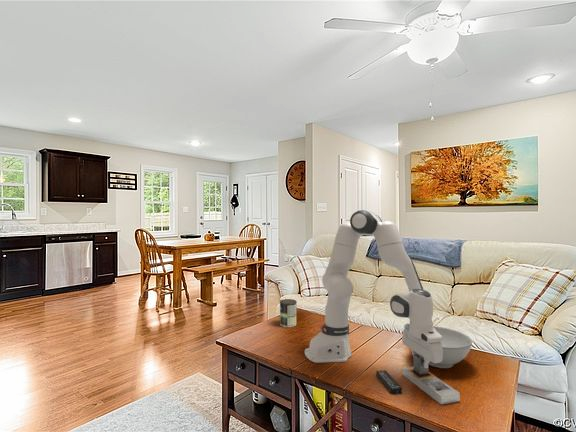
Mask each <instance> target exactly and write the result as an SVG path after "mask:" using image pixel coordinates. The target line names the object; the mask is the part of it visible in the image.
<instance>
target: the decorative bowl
mask: <svg viewBox="0 0 576 432" xmlns="http://www.w3.org/2000/svg"><path fill="white" fill-rule="evenodd" d="M433 327H434V328H435V330H436V331H437V332H438V333H439V334H440V335H441V336H442V338H443V340H442V341H441V344H442V348H443V359H442V361H441V362H440V363H432V362H431V361H430V362H429V363H428V366H429V365H430V366H432V367H434V368H438V369H449V368H452V367H454V365H456V364H458V363H460V362H461V361H463V360H464V359H465V358H466V356H467V355H468V354H469V352H470V350H471V349H472V345H473V340H472V338H471V337H470V336H468V335H467V334H465V333H464V332H461V331H458V330H455V329H452V328H448V327H443V326H439V325H438V326H437V325H433ZM417 354H418V353H417Z"/></svg>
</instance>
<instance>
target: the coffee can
mask: <svg viewBox="0 0 576 432" xmlns="http://www.w3.org/2000/svg"><path fill="white" fill-rule="evenodd" d="M297 302H298V301H297V300H295V299H292V298H289V299H288V298H287V299H286V298H285V299H281V300H280V301H279V325H280V327H284V328H291V327H295V326H297Z"/></svg>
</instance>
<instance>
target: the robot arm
mask: <svg viewBox="0 0 576 432" xmlns="http://www.w3.org/2000/svg"><path fill="white" fill-rule="evenodd" d="M369 236H370V237H374V239H375V242H376V247H377V252H378V255H379V258H380V260H381V261H382V262H383V263H384V264H386V265H387V266H389V267H392V268H395V269H396V270H398V271H400V272H401V274H402V276H403V278H404V281H405V283H406V285H407V289H408V292H403V293H402V292H401V293H397V294H395V295H393V296H391V298H390V303H389V306H390V310H391V312H392V313H393V315H394V316H396V317H399V318H407V319H409V323H408V322H407V323H406V324H404V326H403V327H404V329H403V330H402V338H401V339H402V344H403V345H404V346H405V347H407V348H409V349H410V350H411V353H412V354H411V355H412V356H413V360H412V361H414V354H417V353H418V354H420V355H421V356H423V357H424V360H425V361H424V362H422V366H423V367H424V368H428V369H429V364H428V363H429V362H430V361H431V362H432V363H440V362H441V361H442V359H443V348H442V344H441V341H442V340H443V338H442V336H441V335H440V334H439V333H438V332H437V331H436V330H435V328H434V327H433V326H434V324H433V323H434V322H433V316H434V301H433V296H432V294H431V293H430V292H429V291H428V290H426V289H424V287H423V285H422V282H421V280H420V277H419V275H418V271H417V269H416V266H415V263H414V261H413V259H411V257H410V256H409V255H408V254H407V253H408V252H407V251H406V249H405V246H404V243H403V239H402V235H401V232H400V231H399V228H398V226H397V224H396V223H395V222H393V221H389V220H386V221H385V220H384V221H383V220H382V218H381V217H380V216H379V215H378V214H375V213H374V212H372V211H368V210H364V209H362V210H356V211H355V212H354V213H352V215H351V216H350V219H349V222H348V221H347V222H343V223H341V224H339V227H338V228H337V232H336V234H335V237H334V241H333V246H332V251H331V255H330V259H329V262H328V264H327V266H326V270H324V271H325V273H324V274H323V275H322V279H321V282H322V286H323V288H324V289H325V290H326V291H327V301H326V305H325V308H324V311H325V312H324V315H325V316H324V324H322V323H318V325H317V327H318V328H319V329H321V331H320V332H319V333H317V335H315V336H314V337H313V338H312V339H310V342H309V346H308V348H305V349H304V355H305V357H306V358H307V359H308V360H309V361H311V362H313V363H315V364H317V363H340V362H341V363H343V362H345V363H346V362H347V361H348V360H349V358H350V357H352V350H351V346H350V339H349V336H350V325H349V308H350V302H351V297H352V295H353V293H354V285H353V283H352V281H351V279H350V278H349V277H348V273H349V271H350V270H351V267H352V266H353V265H354V263H355V262H354V261H355V257H356V252H357V249H358V248H357V247H358V243H359V240H360V238H361V237H369Z"/></svg>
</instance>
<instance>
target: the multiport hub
mask: <svg viewBox="0 0 576 432" xmlns="http://www.w3.org/2000/svg"><path fill="white" fill-rule="evenodd" d="M375 376H376V378H378V380H379V382H380V383H381V384H382V385H383V386H384V387H385V388H386V390H387V391H388V392H389V394H391V395H399V394H403V388H402V386H400V384H399V383H398V382H397V381H396V380H395V379H394V378H393V376H392V375H391V374H390V373H389V372H388V371H387V370H384V369H383V370H376V371H375Z"/></svg>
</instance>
